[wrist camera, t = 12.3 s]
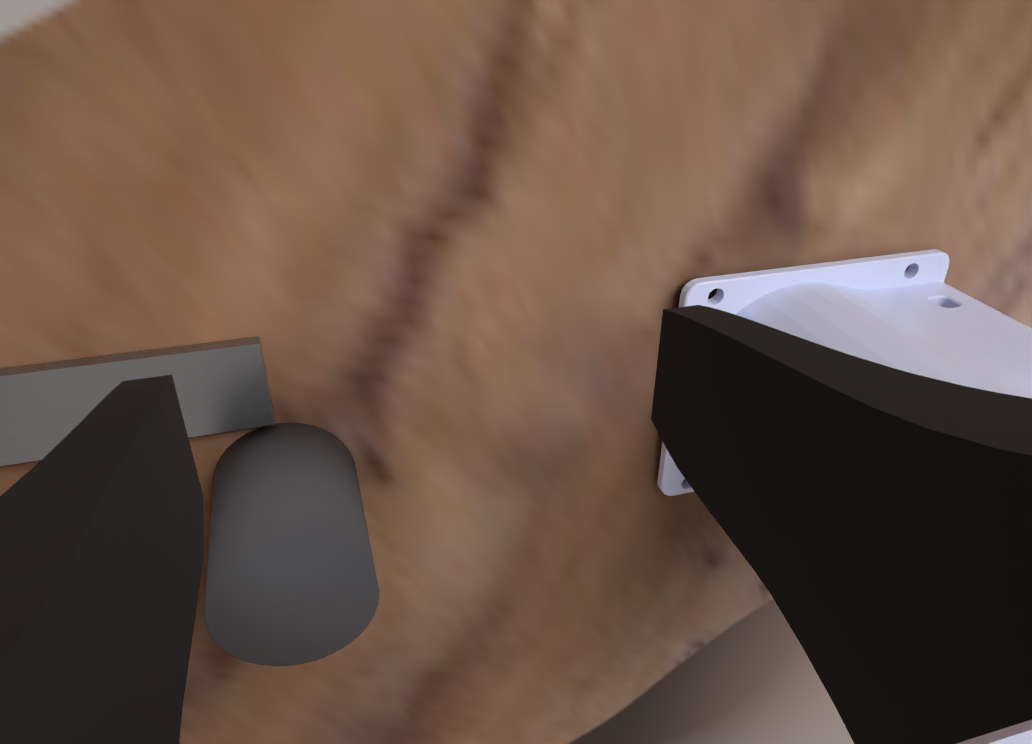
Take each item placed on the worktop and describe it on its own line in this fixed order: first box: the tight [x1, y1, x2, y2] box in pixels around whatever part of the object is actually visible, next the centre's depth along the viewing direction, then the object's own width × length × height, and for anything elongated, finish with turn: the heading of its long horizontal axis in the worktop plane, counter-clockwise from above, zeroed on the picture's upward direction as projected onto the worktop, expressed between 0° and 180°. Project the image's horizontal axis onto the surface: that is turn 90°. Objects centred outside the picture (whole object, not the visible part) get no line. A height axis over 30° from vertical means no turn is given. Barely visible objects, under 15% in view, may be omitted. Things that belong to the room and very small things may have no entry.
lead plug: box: [204, 423, 379, 666], centre depth 20 cm, size 4×4×5 cm
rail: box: [0, 337, 275, 466], centre depth 19 cm, size 11×2×1 cm, turn 90°
